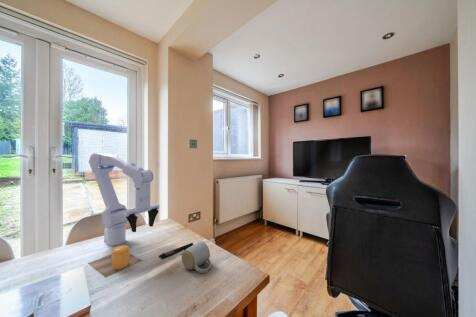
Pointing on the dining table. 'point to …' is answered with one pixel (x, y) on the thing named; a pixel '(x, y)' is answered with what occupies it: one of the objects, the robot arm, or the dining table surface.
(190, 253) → the ceramic mug
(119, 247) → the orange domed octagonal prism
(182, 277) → the dining table surface
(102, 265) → the board
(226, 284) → the dining table surface
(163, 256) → the electric trimmer
